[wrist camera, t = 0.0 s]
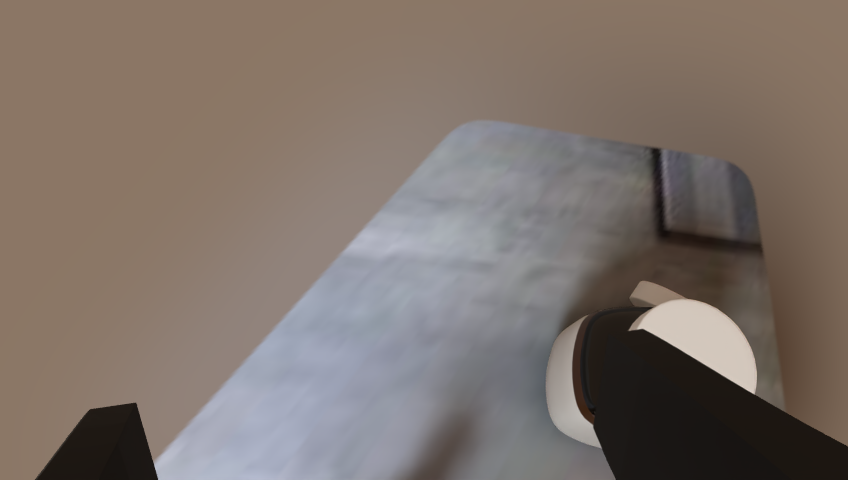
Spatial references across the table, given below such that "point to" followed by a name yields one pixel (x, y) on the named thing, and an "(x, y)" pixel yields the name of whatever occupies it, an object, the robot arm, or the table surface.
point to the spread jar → (653, 311)
